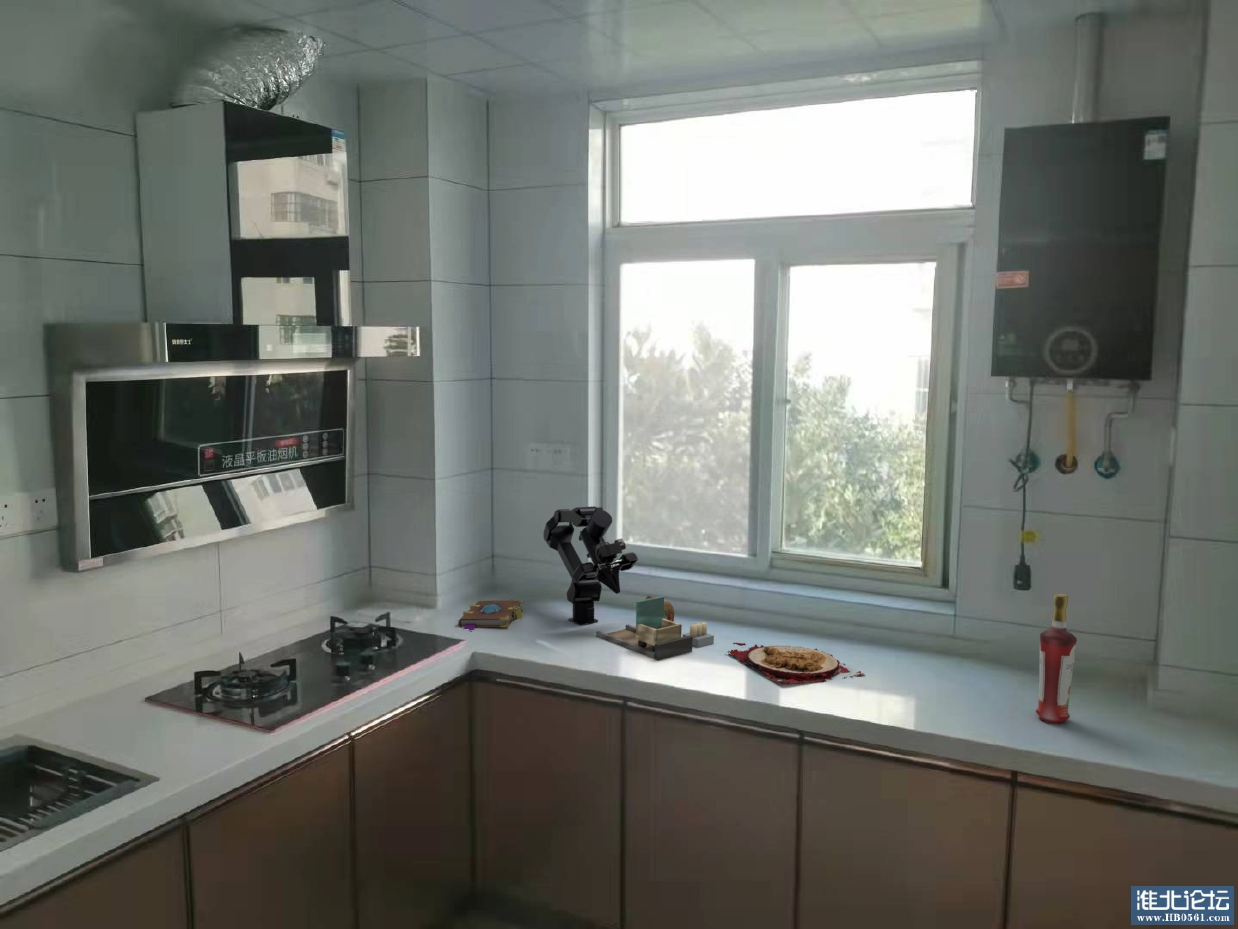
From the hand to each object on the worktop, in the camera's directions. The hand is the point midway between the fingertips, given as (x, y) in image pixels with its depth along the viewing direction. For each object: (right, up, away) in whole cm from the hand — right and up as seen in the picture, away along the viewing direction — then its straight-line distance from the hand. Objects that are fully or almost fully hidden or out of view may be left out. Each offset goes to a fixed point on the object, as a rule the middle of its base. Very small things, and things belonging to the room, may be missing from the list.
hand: (618, 593), depth 263 cm
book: (-37, -11, +16) cm, 42 cm away
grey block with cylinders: (+22, -14, -5) cm, 26 cm away
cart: (+11, -13, -11) cm, 20 cm away
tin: (+12, -12, +12) cm, 21 cm away
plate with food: (+45, -17, -19) cm, 52 cm away
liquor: (+96, -21, -53) cm, 112 cm away
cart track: (+7, -14, -6) cm, 16 cm away
